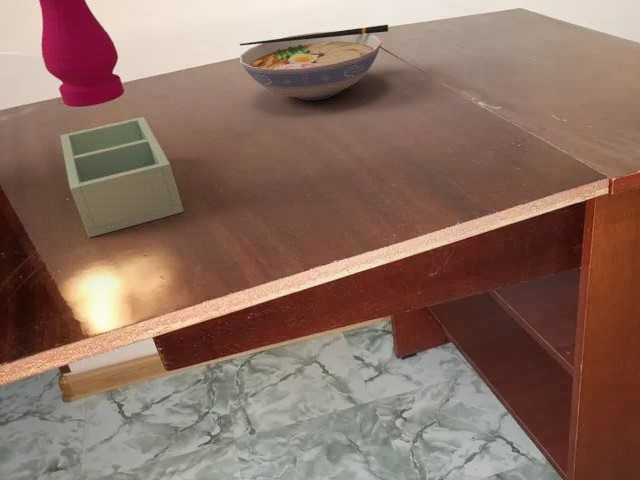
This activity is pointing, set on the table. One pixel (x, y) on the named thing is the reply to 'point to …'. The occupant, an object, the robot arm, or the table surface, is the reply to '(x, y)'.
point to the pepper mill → (79, 53)
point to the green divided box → (119, 176)
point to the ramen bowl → (313, 61)
